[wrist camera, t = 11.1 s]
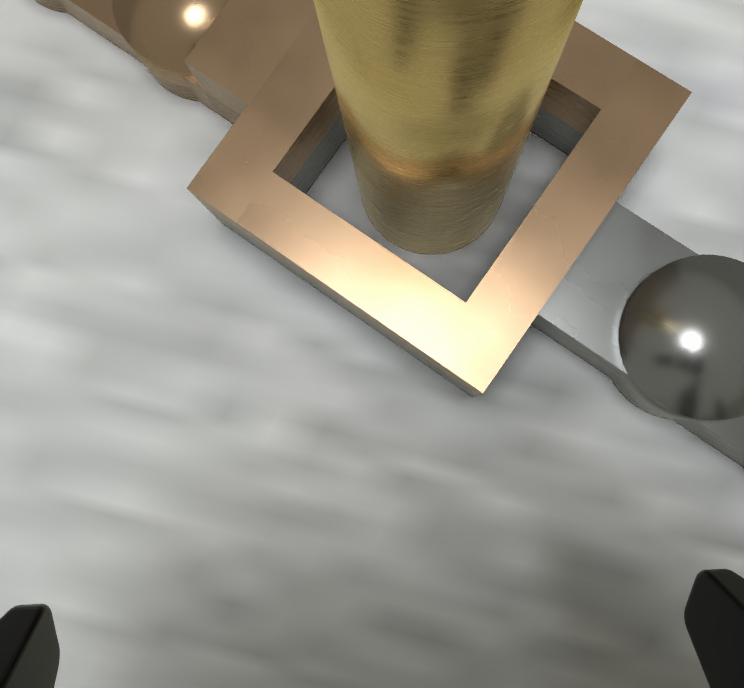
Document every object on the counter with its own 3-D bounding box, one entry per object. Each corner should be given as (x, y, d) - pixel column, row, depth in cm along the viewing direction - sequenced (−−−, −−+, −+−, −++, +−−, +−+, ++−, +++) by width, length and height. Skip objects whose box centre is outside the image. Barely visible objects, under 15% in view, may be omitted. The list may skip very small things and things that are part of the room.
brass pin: (532, 193, 19) (751, -220, 7) (421, 283, 19) (432, 33, 7) (441, 88, 20) (487, -477, 7) (332, 176, 20) (188, -242, 7)
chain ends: (1048, 392, 18) (1176, 387, 15) (868, 671, 17) (962, 725, 14) (78, -213, 21) (23, -315, 18) (-90, 6, 21) (-174, -62, 18)
